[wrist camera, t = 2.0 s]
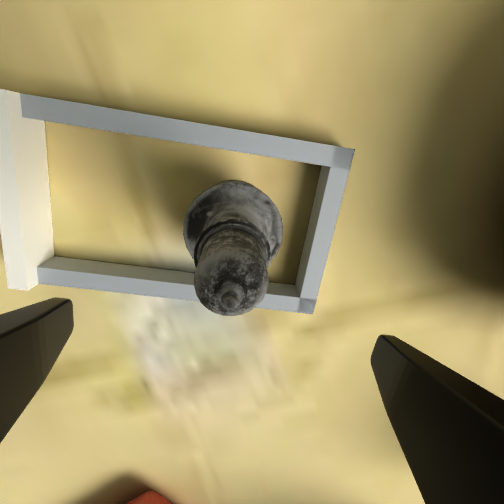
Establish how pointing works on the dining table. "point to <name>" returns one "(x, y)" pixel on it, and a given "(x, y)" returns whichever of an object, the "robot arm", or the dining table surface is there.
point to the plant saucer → (149, 499)
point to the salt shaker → (232, 245)
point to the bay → (71, 113)
